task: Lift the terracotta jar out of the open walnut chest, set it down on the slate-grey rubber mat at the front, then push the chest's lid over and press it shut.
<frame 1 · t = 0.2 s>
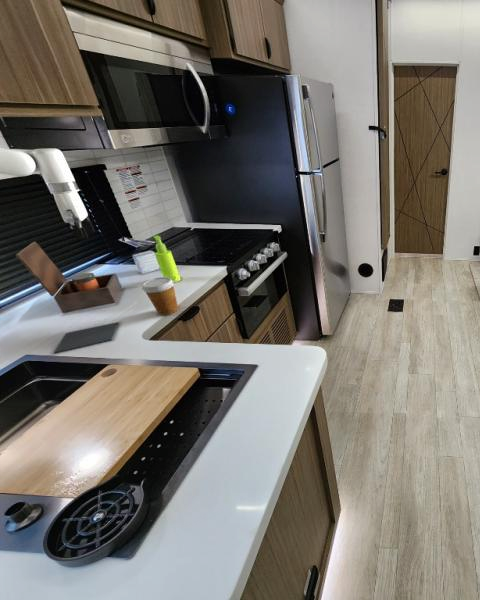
hand: (86, 235, 123), 25 cm above the worktop, tool pointing down, fingers open, 9 cm apart
chest lid: (43, 268, 119), point 16 cm above the worktop, hinge at 100.0°
jar: (94, 299, 130), point 1 cm above the worktop, touching chest
medicine box: (150, 270, 158), on the worktop
mat: (88, 337, 108), on the worktop
soap dispenser: (172, 280, 148), on the worktop
disposable coffee cup: (168, 311, 123), on the worktop
chest: (95, 301, 131), on the worktop
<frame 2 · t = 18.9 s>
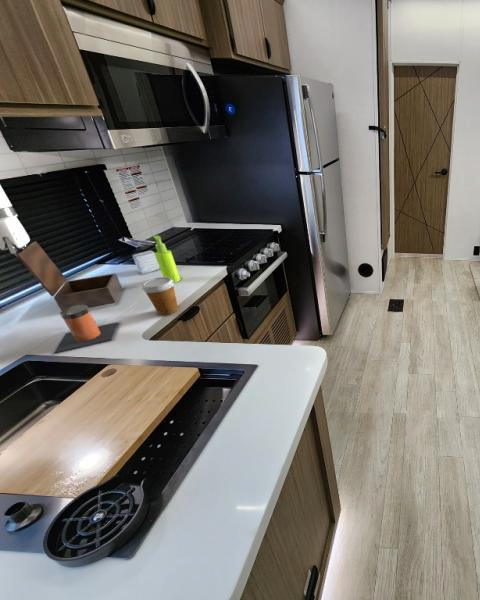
hand: (30, 265, 117), 18 cm above the worktop, tool pointing down, fingers closed
chest lid: (43, 268, 119), point 16 cm above the worktop, hinge at 99.4°, touching gripper
jar: (88, 336, 108), resting on mat
everything else where it was.
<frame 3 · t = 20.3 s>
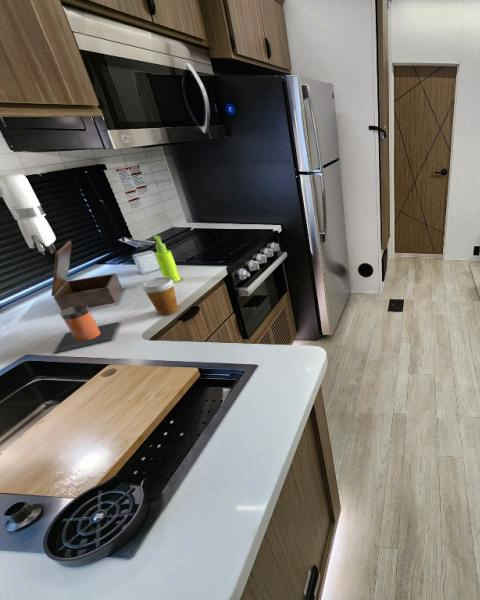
hand: (55, 263, 120), 17 cm above the worktop, tool pointing down, fingers closed
chest lid: (61, 267, 122), point 15 cm above the worktop, hinge at 65.1°, touching gripper
everything else where it was.
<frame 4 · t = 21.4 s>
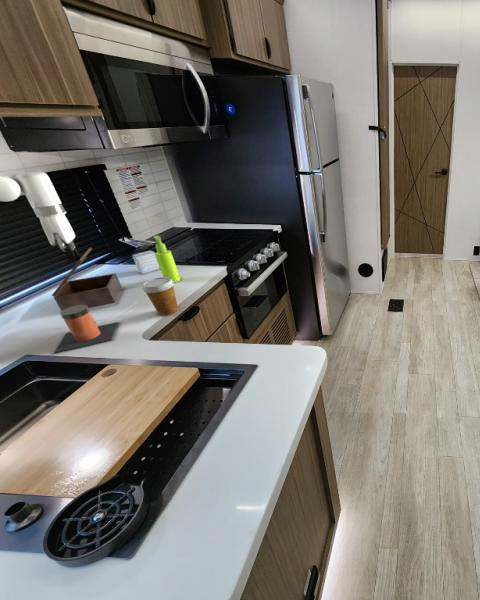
hand: (75, 260, 123), 17 cm above the worktop, tool pointing down, fingers closed
chest lid: (73, 270, 123), point 13 cm above the worktop, hinge at 43.6°, touching gripper
everything else where it was.
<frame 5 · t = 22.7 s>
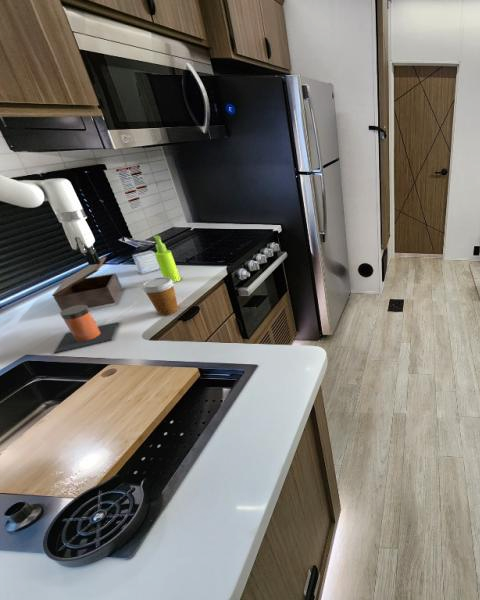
hand: (95, 263, 126), 15 cm above the worktop, tool pointing down, fingers closed
chest lid: (80, 275, 125), point 11 cm above the worktop, hinge at 24.9°, touching gripper
everything else where it was.
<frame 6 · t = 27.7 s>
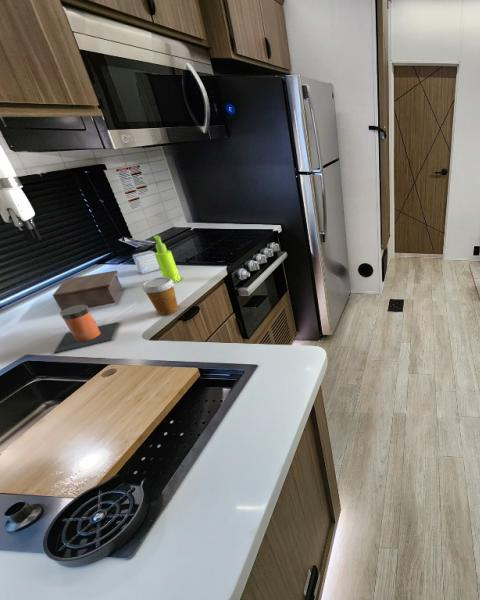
hand: (34, 240, 112), 27 cm above the worktop, tool pointing down, fingers closed
chest lid: (87, 282, 127), point 8 cm above the worktop, hinge at 1.1°
everything else where it was.
at the end: jar inside the target area on the mat (0.0 cm from its centre), point 0.4 cm above the mat's base; jar tilted 0°; chest lid at +1° (first picture: +100°) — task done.
